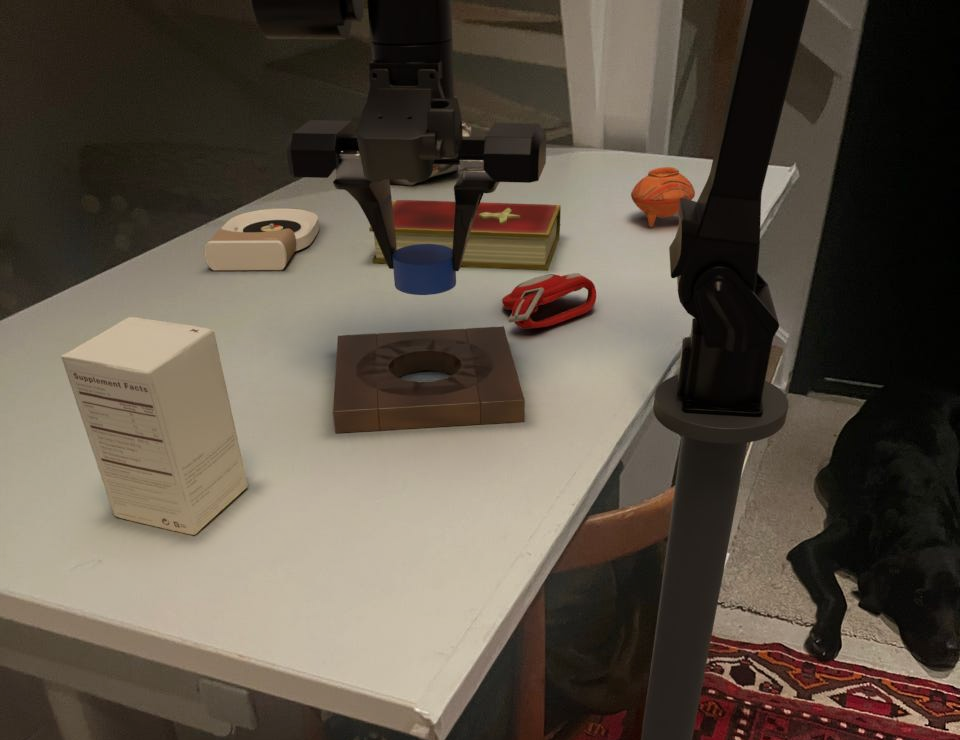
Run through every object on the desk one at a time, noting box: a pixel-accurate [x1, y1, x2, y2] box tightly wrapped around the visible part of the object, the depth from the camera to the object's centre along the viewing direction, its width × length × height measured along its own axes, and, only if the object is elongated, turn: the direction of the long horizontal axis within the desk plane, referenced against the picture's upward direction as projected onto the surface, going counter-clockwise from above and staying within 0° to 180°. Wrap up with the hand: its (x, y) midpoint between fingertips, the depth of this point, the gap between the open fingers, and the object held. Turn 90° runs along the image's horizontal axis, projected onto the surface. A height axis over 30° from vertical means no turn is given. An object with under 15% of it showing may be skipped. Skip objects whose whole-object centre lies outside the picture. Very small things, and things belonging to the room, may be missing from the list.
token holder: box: [332, 326, 526, 434], centre depth 84 cm, size 16×16×2 cm
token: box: [392, 244, 457, 296], centre depth 74 cm, size 5×5×2 cm
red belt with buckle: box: [501, 272, 597, 330], centre depth 95 cm, size 12×4×10 cm
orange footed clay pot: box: [630, 166, 696, 228], centre depth 118 cm, size 8×8×7 cm
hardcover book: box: [369, 199, 562, 271], centre depth 112 cm, size 12×21×4 cm, turn 80°
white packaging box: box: [60, 316, 249, 536], centre depth 66 cm, size 7×7×13 cm
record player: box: [204, 208, 320, 271], centre depth 115 cm, size 12×3×20 cm
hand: (424, 268), depth 74 cm, fingers closed on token, 5 cm apart
